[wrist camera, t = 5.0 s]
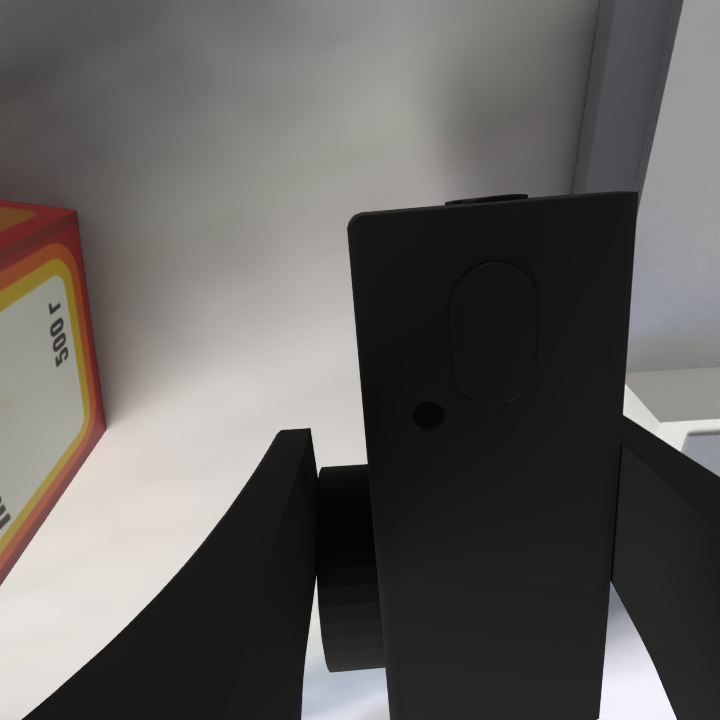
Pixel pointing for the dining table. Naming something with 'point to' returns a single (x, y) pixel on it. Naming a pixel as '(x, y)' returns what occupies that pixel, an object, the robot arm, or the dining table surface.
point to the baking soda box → (42, 369)
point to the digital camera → (482, 456)
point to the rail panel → (661, 168)
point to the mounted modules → (679, 410)
